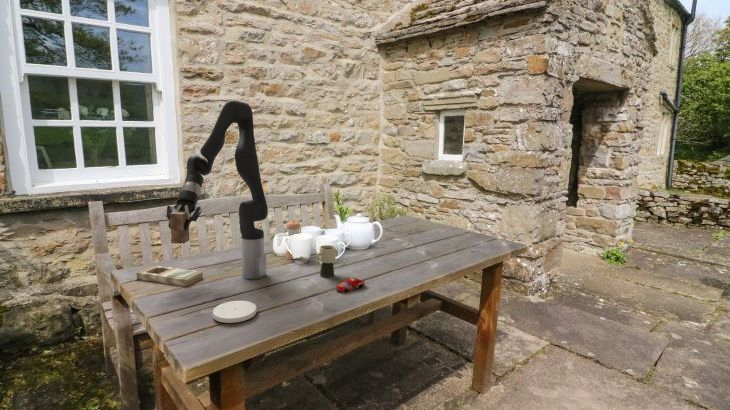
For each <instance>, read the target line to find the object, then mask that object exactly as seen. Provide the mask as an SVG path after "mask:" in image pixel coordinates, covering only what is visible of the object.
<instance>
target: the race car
mask: <svg viewBox="0 0 730 410" xmlns="http://www.w3.org/2000/svg"><path fill="white" fill-rule="evenodd" d="M365 284H366V283H365V280H364V279H363V278H359V277H358V278H357V277H351V278H347V279H345V280H343V281H342V282H340V283H338V284H337V285H336V287H335V291H336V292H337V293H338V292H339V293H343V294H345V293H348V292H351V291H355V290H359V289H363V288H364V287H365Z"/></svg>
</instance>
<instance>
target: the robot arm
mask: <svg viewBox="0 0 730 410" xmlns="http://www.w3.org/2000/svg"><path fill="white" fill-rule="evenodd" d="M253 115H254V114H253V110H252V107H251V106H250V104H249V103H247V102H244V101H239V100H234V99H230V100H228V101H226V102H225V103H224V105H223V107H222V108H221V111H220V113H219V116H218V117H217V119H216V122H215V124H214V125H213V129H212V131H211V133H210V134H209V136H208V138H207V139H206V140H205V142H204V143H203V145H202V146H201V148H200V150H199V151H200V152H199V153H200V155H201V156H202V157H201V156H199V155H197V154H192V155H190V156H189V157H188V159H187V161H186V176H185V179H184V183H183V185H182V186H181V188H180V191H179V195H178V197H177V200H176V203H175V204H174V206H171V205H167V206H166V218H167V220H168V221H169V223H168V228H169V230H171V224H170V214H171V213H173V212H178V211H180V212H187V217H186V219H187V220H185V223H184V226H183V228H184V230H187V229H188V228H189V229H190V226H191V225H190V224H191V223H192V222H194V223H195V222H197V220H198V219H199V216H200V215H201V214H202V212H203V211H202V208H201V207H200V206H197V205H198V201H199V199H200V196H201V195H200V194H201V190H202V186H203V184H204V180H205V179H204V177H205V176H208V175H209V174H211V172H212V168H213V166H214V162H215V160H216V157H217V156H218V155H219V153H220V152H221V151H222V149H223V147H224V145H225V141H226V132H227V130H228V129H229V128H230V127H231V126H232V124H237V127H238V135H239V136H238V137H239V138H238V141H237V145H236V148H235V150H234V162H235V167H236V171H237V174H238V176H240V178H241V179H242V180H243V182H244V183H245V185H247V187H248V189H249V191H250V194H251V199H252V200H251V199H250V200H244V201H242V202H240V203H239V205H238V218H239V219H238V221H239V230H240V234H241V235H240V236H241V266H242V267H241V269H242V271H241V273H242V278H243V279H247V280H255V279H256V280H258V279H259V280H260V279H262V278H263V277H265V276H266V275H267V254H266V253H265V232H264V230H263V229H262V228H258V227H255V222H260V221H261V222H262V221H264V220H266V219H267V218H268V213H269V211H268V210H269V209H268V203H267V199H266V195H265V192H264V188H263V184H262V179H261V173H260V172H261V171H260V165H259V159H258V153H257V149H256V148H257V147H256V140H255V132H254V131H255V130H254V129H255V128H254V116H253ZM192 213H193V214H192Z"/></svg>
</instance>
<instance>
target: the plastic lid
mask: <svg viewBox="0 0 730 410" xmlns="http://www.w3.org/2000/svg"><path fill="white" fill-rule="evenodd" d="M256 314H257V305H256V303H254V302H251V301H248V300H233V301H226V302H223V303H221V304H218V305H217V306H216V307H214V308H213V310H212V318H213V319H214V320H215V321H217V322H220V323H225V324H226V323H228V324H234V323H240V322H245V321H247V320H249V319H251V318H253V317H255V315H256Z"/></svg>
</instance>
